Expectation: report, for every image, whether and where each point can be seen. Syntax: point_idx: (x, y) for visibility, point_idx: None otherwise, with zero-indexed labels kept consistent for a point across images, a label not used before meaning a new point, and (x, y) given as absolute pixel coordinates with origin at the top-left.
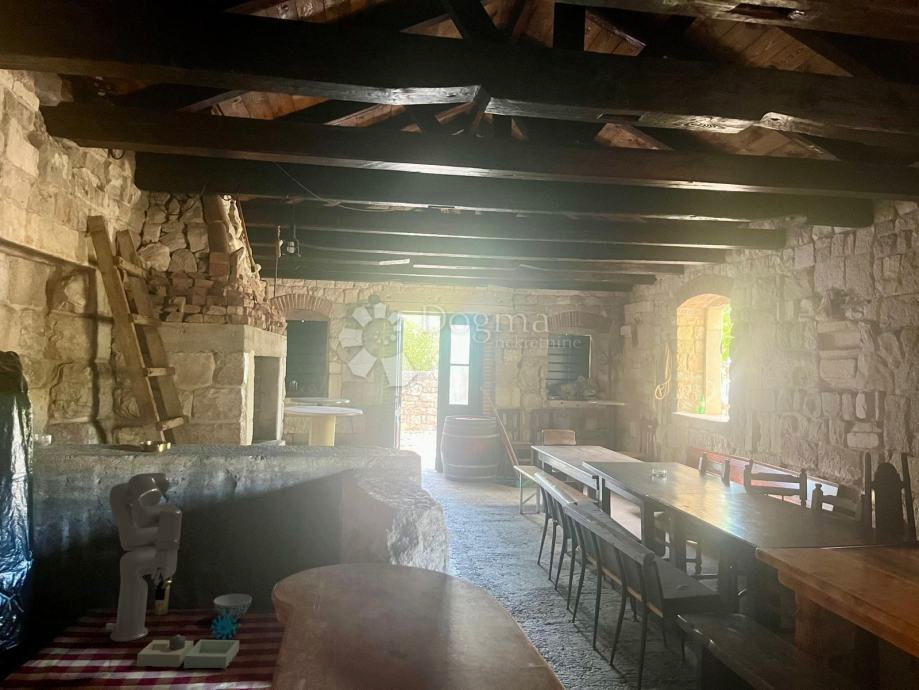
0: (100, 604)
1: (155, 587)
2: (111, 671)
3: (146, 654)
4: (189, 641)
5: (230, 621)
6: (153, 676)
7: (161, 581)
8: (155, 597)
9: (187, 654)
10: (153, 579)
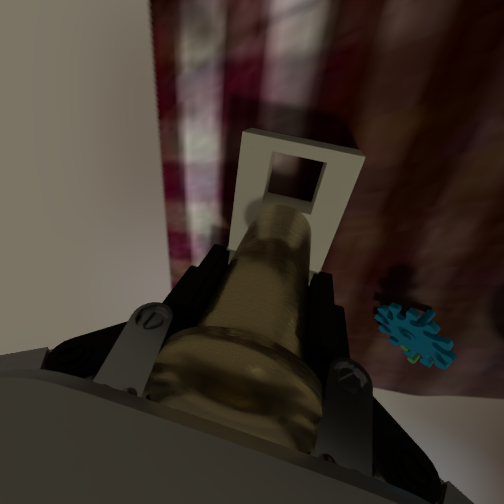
0: None
1: (136, 312)
2: (222, 50)
3: (239, 161)
4: (315, 263)
5: (423, 354)
6: (191, 188)
7: (190, 392)
8: (210, 255)
9: (228, 264)
10: (35, 379)
